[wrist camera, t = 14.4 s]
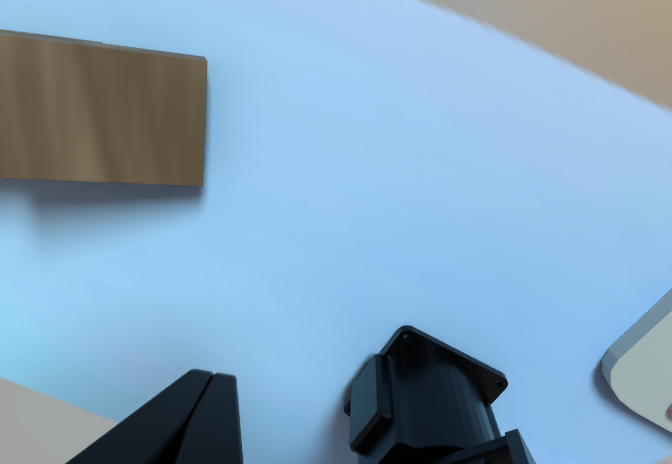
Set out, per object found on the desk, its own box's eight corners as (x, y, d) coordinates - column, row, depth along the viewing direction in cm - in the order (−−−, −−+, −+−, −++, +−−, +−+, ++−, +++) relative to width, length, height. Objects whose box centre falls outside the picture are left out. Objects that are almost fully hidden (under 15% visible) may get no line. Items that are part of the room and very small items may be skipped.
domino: (207, 61, 17) (-54, 27, 14) (202, 185, 19) (-27, 177, 16) (204, 56, 19) (-34, 25, 16) (200, 173, 21) (-12, 163, 18)
